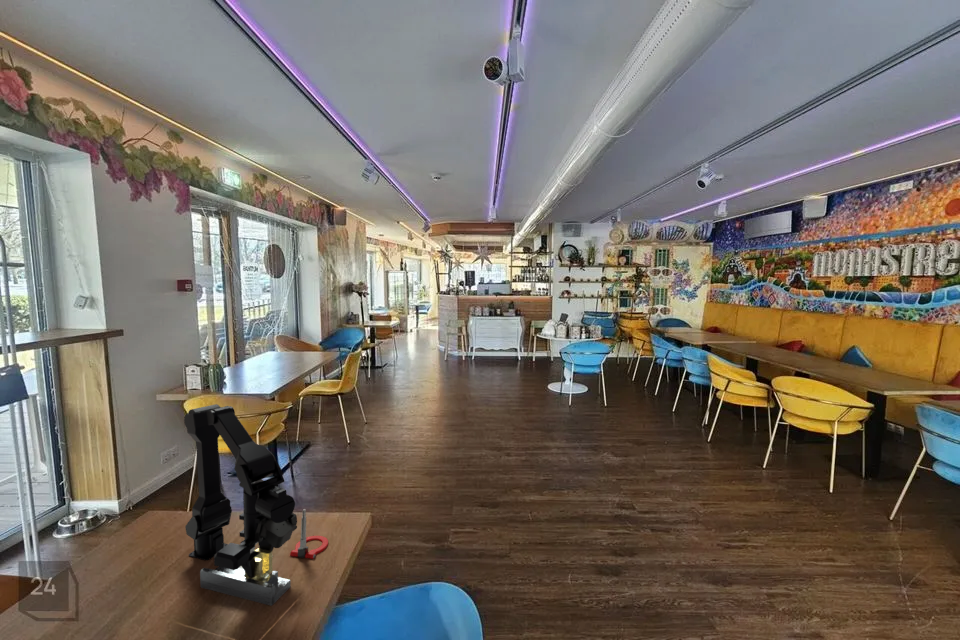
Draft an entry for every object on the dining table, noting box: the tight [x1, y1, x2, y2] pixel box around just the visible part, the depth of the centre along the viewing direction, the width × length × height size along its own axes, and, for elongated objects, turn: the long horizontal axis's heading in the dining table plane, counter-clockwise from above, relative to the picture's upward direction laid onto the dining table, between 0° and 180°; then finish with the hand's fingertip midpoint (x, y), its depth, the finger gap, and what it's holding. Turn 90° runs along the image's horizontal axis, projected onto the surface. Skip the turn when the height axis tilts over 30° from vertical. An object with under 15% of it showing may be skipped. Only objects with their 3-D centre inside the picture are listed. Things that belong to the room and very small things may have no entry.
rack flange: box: [199, 566, 292, 607], centre depth 95 cm, size 20×6×4 cm, turn 76°
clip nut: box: [245, 547, 273, 581], centre depth 94 cm, size 4×4×5 cm
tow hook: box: [289, 508, 329, 560], centre depth 110 cm, size 8×13×9 cm
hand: (258, 570), depth 94 cm, fingers closed on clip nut, 4 cm apart
